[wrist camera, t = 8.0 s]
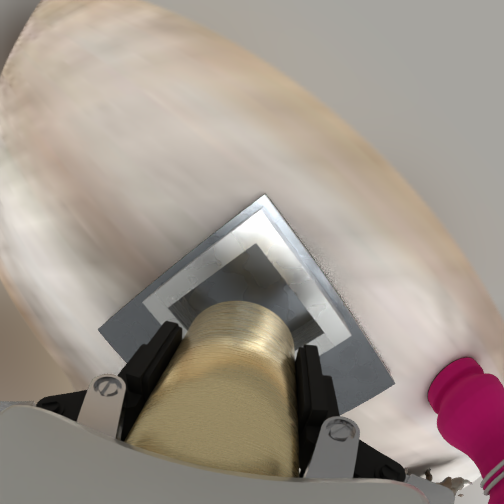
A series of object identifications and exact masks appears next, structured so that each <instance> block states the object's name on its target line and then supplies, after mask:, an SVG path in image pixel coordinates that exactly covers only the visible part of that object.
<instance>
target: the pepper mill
mask: <svg viewBox="0 0 504 504" xmlns="http://www.w3.org/2000/svg"><path fill="white" fill-rule="evenodd" d="M428 401H429V403H430V405H431V406H432V408H433V410H434V411H435V413H437V414H438V418H437V428H438V430H439V432H440V434H441V435H442V437H443V438H444V439H445V440H446V441H447V442H448V443H449V444H450V445H452V446H453V447H455V448H457V449H459V450H460V451H462V452H464V453H465V454H466V455H468V456H469V457H470V458H471V459H472V460H473V461H474V463H475V464H476V466H477V467H478V469H479V470H480V473H481V475H482V478H483V480H482V482H481V484H480V486H481V488H483V490H485V491H484V495H490V499H489V502H488V504H504V387H503V385H502V384H501V382H500V381H499V379H498V378H497V377H496V376H494V375H492V374H484V372H483V369H482V368H481V367H480V365H479V364H478V363H477V362H476V361H475V360H474V359H472V358H467V357H466V358H461V359H458V360H456V361H454V362H452V363H451V364H449V365H448V366H447V367H445V368H444V369H443V370H442V371H441V372H440V373H439V374H438V376H437V377H436V378H435V379H434V381H433V383H432V384H431V386H430V389H429V391H428Z"/></svg>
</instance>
